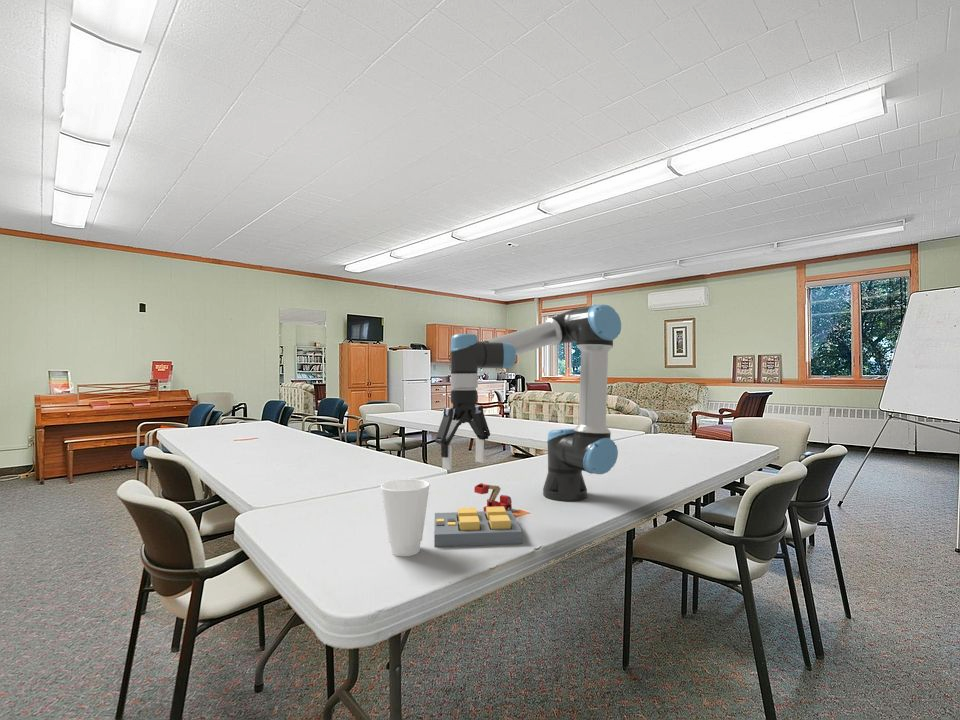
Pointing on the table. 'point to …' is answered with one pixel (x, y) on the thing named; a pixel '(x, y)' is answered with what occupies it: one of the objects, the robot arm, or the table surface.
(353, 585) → the table surface
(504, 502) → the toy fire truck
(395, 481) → the cup
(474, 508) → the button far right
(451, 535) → the board
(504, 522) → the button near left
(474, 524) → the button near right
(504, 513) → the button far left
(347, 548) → the table surface
